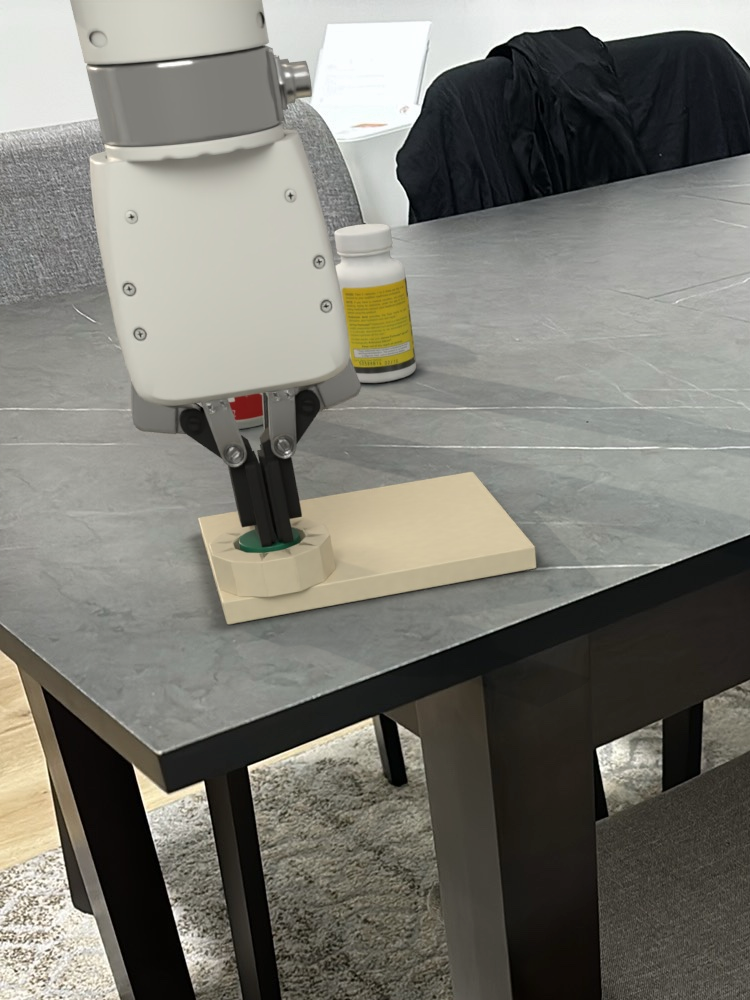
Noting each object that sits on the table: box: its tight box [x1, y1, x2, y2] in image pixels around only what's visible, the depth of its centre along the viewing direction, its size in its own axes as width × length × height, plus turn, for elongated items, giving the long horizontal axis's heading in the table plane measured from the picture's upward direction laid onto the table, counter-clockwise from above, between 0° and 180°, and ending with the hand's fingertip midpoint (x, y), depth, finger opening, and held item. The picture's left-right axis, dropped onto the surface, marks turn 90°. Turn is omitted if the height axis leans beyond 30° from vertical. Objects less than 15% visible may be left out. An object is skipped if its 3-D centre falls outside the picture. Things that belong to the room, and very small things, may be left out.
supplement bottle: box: [333, 223, 417, 384], centre depth 101 cm, size 5×5×10 cm
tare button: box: [239, 527, 301, 553], centre depth 70 cm, size 3×3×2 cm
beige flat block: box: [198, 471, 537, 625], centre depth 74 cm, size 16×13×3 cm
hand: (274, 535), depth 69 cm, fingers closed
